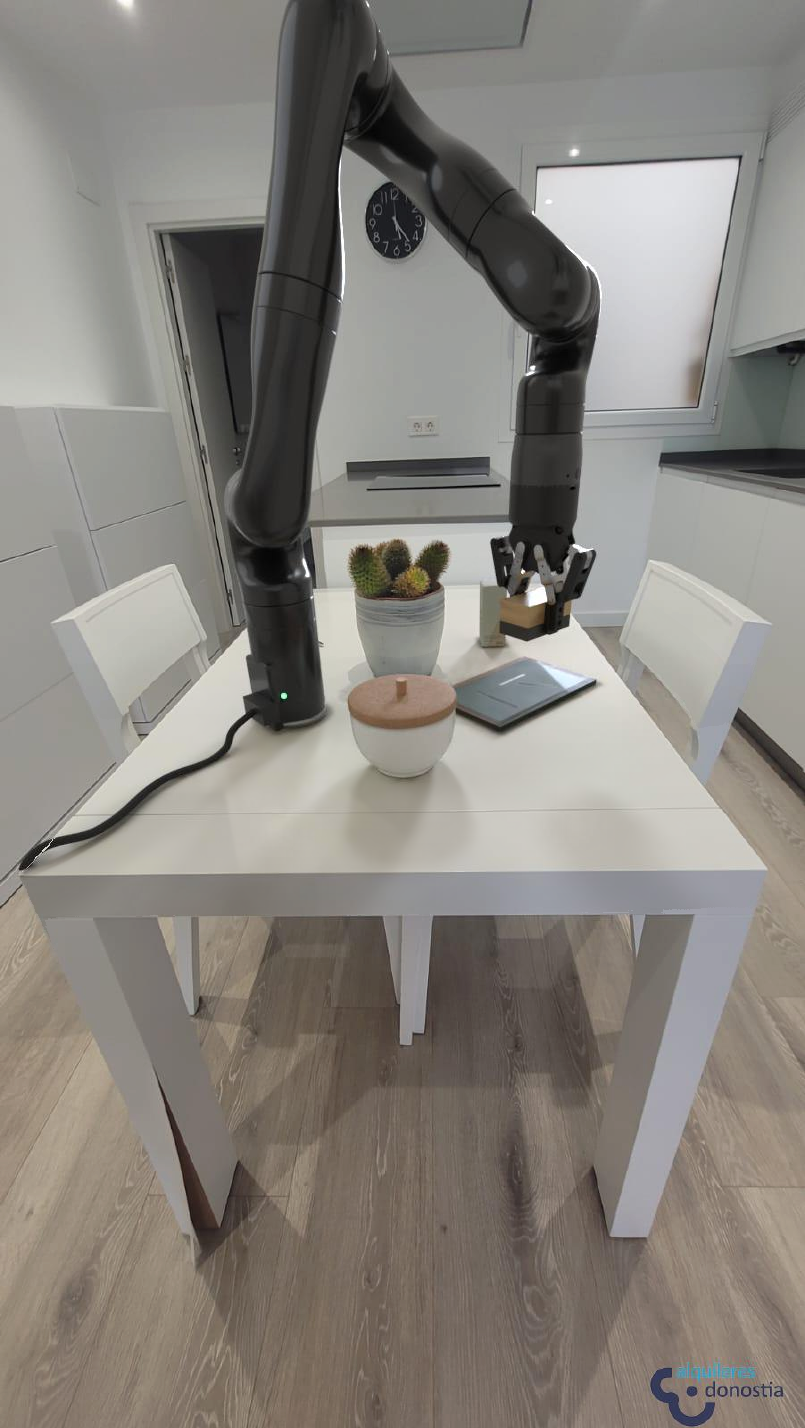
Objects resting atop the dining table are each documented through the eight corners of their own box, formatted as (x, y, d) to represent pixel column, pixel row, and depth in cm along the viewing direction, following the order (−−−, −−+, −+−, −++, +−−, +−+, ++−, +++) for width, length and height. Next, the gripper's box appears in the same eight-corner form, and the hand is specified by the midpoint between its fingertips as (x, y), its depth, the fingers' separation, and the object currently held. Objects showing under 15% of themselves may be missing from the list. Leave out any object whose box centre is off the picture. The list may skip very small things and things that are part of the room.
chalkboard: (500, 732, 78) (500, 726, 78) (428, 700, 88) (428, 695, 88) (596, 684, 91) (596, 679, 90) (524, 660, 100) (524, 656, 100)
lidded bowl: (341, 749, 76) (333, 669, 71) (431, 729, 80) (430, 652, 75) (371, 801, 65) (364, 712, 60) (474, 776, 69) (476, 689, 64)
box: (505, 646, 107) (507, 585, 102) (481, 647, 107) (482, 586, 102) (501, 637, 111) (503, 578, 106) (478, 637, 112) (479, 579, 107)
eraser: (527, 642, 69) (529, 606, 67) (498, 633, 72) (500, 599, 70) (569, 626, 74) (572, 593, 72) (541, 618, 77) (543, 586, 75)
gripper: (474, 478, 68) (471, 622, 76) (578, 485, 58) (563, 650, 66) (517, 473, 72) (510, 609, 80) (622, 479, 62) (603, 634, 70)
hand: (534, 627), depth 73 cm, fingers closed on eraser, 4 cm apart
